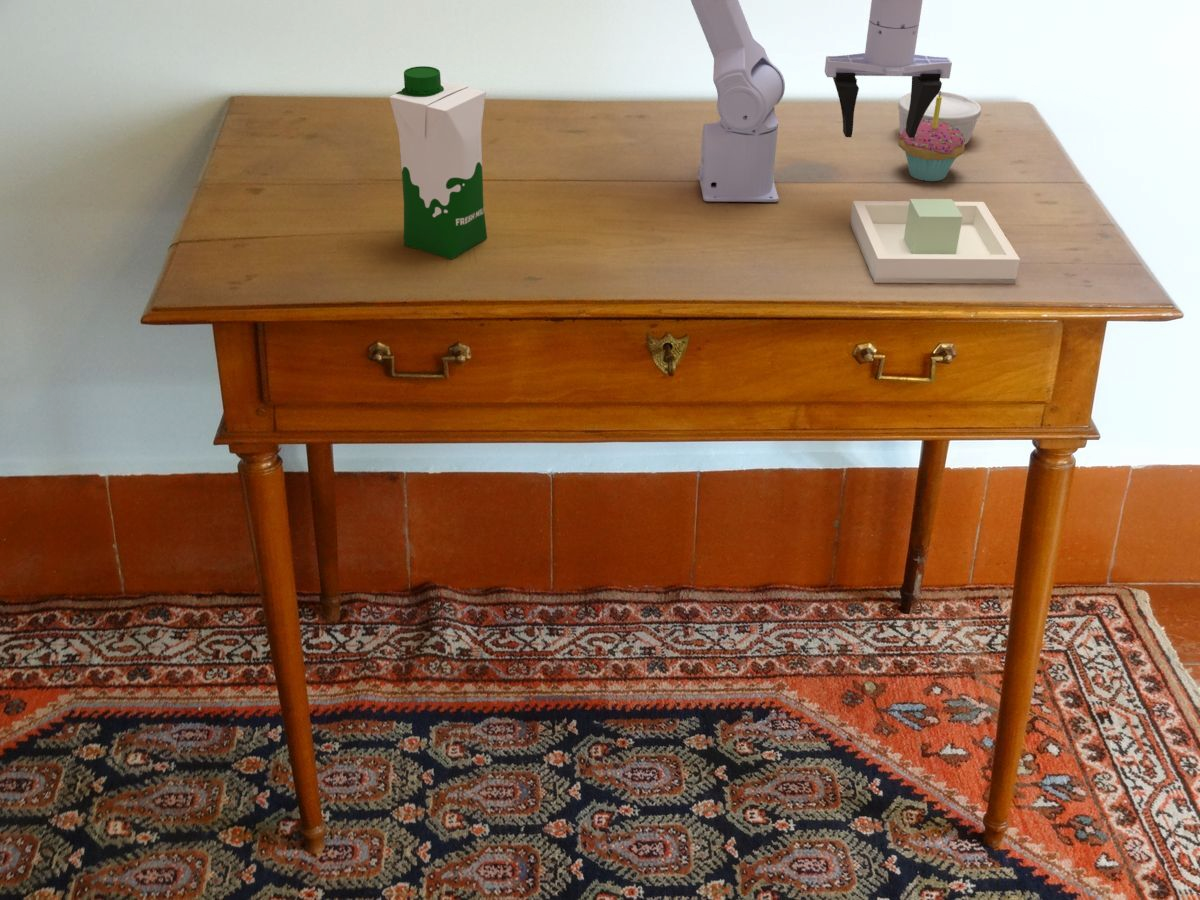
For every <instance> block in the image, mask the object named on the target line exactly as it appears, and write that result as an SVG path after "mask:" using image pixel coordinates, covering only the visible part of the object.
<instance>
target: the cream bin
mask: <svg viewBox="0 0 1200 900" xmlns="http://www.w3.org/2000/svg"><path fill="white" fill-rule="evenodd" d="M909 202H910V200H908V201H904V200H897V201H896V200H895V201H894V200H891V201H890V200H887V201H886V200H853V201H852V205H851V214H850V223H849V224H850V225H849V226H850V227H851V230H852V233H853V234H854V237H855V239H856V241H857V244H858V247H859V248H860V252H861V253H862V257H863V258H864V260H865V263H866V265H867V268H868V271H869V273H870V275H871V278H872V280H873V282H874V283H875V284H1005V285H1006V284H1010V285H1012V284H1013V285H1014V284H1016V281H1017V276H1018V271H1019V266H1020V262H1021V259H1020V257H1019V255H1018V254H1017V252H1016V250H1015V249H1014V247H1013V246H1012V244H1011V242H1010V240H1009V239H1008V238H1007V237H1006V235H1005V233H1004V231H1003V230H1002V229H1001V227H1000V226H999V225H1000V224H998V222H997V221H996V219H995V217H994V216H993V214H992V213H991V210H989V208H988V206H987V205H986V203H985V201H954V203H955V205H956V206H957V208H958V210H959V211H960V213H961V215H962V216H963V218H962V223H961V229H960V235H959V240H958V246H957V251H956V254H911V252H910V249H909V247H908V245H907V243H906V241H905V239H904V234H905V228H906V221H907V215H908V208H909Z"/></svg>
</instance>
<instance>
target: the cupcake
mask: <svg viewBox="0 0 1200 900" xmlns="http://www.w3.org/2000/svg"><path fill="white" fill-rule="evenodd" d="M941 92H942V91H941V90H940V92H939V96H937V99H936V105H935V111H934V117H933V119H932V120H930V119H928V120H921V122H920V124H919V126H918V129H917V132H916V135H915V138H909V137H908V135H907V133H906V128H905V129H904V130H903V131H902V133H900V132H899V133H900V134H899V138H898V142H897V144H898V147H899V148H901V150H902V151H904V153H905V156H906V160H907V166H908V172H909V175H910V176H911V177H912V176H913V178H914V179H916V178H917V180H919V181H923V180H925V181H926V182H938V181H942V180H944V179H945V178H946V177H947V175H948V173H949V171H950V169H951V167H952V165H953V163H954V162H955V161H956V159H957V158H958V157H959V156H961V155H963V154H964V152H965V145H964V142H965V138H964V137H963V134H961V133H960V131H958V129H956V128H955V127H953V126H952V125H951V126H950V125H948V123H946V122H943V121H939V120H938V118H939V112H940V106H941V100H942V96H941ZM925 181H924V182H925Z"/></svg>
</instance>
